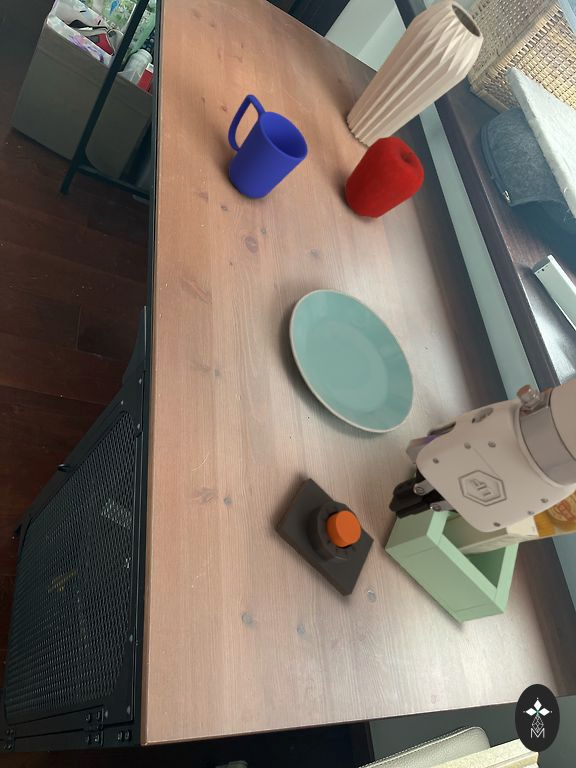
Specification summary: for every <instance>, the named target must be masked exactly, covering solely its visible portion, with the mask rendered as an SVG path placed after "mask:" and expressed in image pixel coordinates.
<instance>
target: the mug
mask: <svg viewBox="0 0 576 768" xmlns="http://www.w3.org/2000/svg"><path fill="white" fill-rule="evenodd" d="M250 105H252V106H253V108H254V109H255V111H256V113H257V120H256V121H255V123H254V125H253V126H252V128H251V129H250V131H249V132H248V133H247V136H246V137H245V138H244V140H243V141H242V142H241V143H242V144H241V145H240V146H239V145H238V142H237V140H236V134H237V129H238V127H239V124H240V122H241V121H242V119H243V117H244V116H245V114H246V112H247V111H248V109H249V107H250ZM227 141H228V144H229V147H230V148H231V149H232V150H233V151H235V152H236V153H235V155H234V156H233V158H232V160H231V161H230V163H229V167H228V175H229V179H230V181H231V183H232V184H233V186H234V187H235V189H237V191H239V192H240V193H241V194H243V195H244V196H246V197H248V198H251V199H261V198H264V197H265V196H267V195H268V194H269V193H270V192H272V191H273V190H274V189H275V188H276V187H277V186H278V185H279V184H280V183H281V182H282V181H283V180H284V179H285V178H286V177H287V176H288V175H289V174H290V173H291V172H292V171H293V170H294V169H296V168H297V167H298V166H299V165H300V164H301V163H302V162H303V161H304V160H305V159H306V158H307V156H308V153H309V150H308V149H309V147H308V144H307V141H306V139H305V137H304V136H303V134H302V132H301V131H300V129H299V128H298V127H297V126H296V125H295V124H294V123H293V122H292V121H291V120H290V119H288V118H287V117H285V116H284V115H282V114H280V113H278V112H275V111H266V110H265V108H264V107H263V104H262V103H261V102H260V101H259V99H258V98H257V96H255V95H254V94H252V93H251V94H247V95H246V96H245V97H244V99H243V101H242V102H241V104H240V106H239V107H238V109H237V111H236V113H235V114H234V116H233V119H232V121H231V122H230V125H229V128H228V131H227Z"/></svg>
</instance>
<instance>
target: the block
mask: <svg viewBox="0 0 576 768" xmlns="http://www.w3.org/2000/svg"><path fill="white" fill-rule="evenodd" d="M341 511H349V512H351V513H352V514H353V515H354V516H355V517H356V518H357V520H358V522H359V524H360V528H361V534H360V537H359V539H358V540H357V541H356V542H355V543H352V544H349V545H347V546H344V547H339V546H336V545H335V544H333V543H332V542H331V540H330V539H329V537H328V534H327V532H326V523H327V520H328V518H329V517H330V516H332V515H334V514H337V513H339V512H341ZM275 532H276V533H277V534H278V535H279V536H280V537H281V538H282V539H283V540H284V541H285V542H287V543H288V544H289V545H290V546H291V547H292V548H293V549H294V550H295V551H296V552H297V553H298V554H299V555H301V557H302V558H303V559H304V560H306V562H308V563H309V564H310V565H311V566H312V567H313V568H314V569H315V570H316V571H317V572H318V573H319V574H320V575H321V576H322V577H323V578H325V579H326V580H327V581H328V583H330V584H331V586H333V587H334V588H335V589H336V590H337V591H338V592H339V593H341V594H342V596H343V597H348V596H350V595H352V593H353V592H354V589H355V587H356V584H357V582H358V579H359V577H360V575H361V572H362V570H363V567H364V565H365V563H366V560H367V558H368V556H369V554H370V551H371V549H372V546H373V544H374V542H375V539H374V538H373V537H372V536H371V535H370V534H369V533H368V532H367V531H366V529H364V528H363V527H362V525H361V523H360V520H359V518H358V517H357V514H356V513H355V512H354V511H353V510H352V509H351V508H350V507H349V506H348V505H347V504H345V503H343V502H341V501H336V500H335V499H333V498H332V497H331V496H330V495H329V494H328V493H327V492H326V491H325V490H324V489H323V488H322V487H321V485H318V484H317V482H316V481H315V480H314V479H313V478H312V477H309V478H306V479H305V480H304V481H303V483H302V484H301V486H300V488H298V491H297V492H296V494H295V496H294V498H293V500H292V502H291V503H290V505H289V506H288V508H287V510H286V511H285V513H284V515H283V517H282V518H281V520H280V522H279V524H278V525H277V527H276V529H275Z"/></svg>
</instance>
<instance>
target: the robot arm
mask: <svg viewBox="0 0 576 768" xmlns="http://www.w3.org/2000/svg"><path fill="white" fill-rule="evenodd" d="M405 453H406V455H407V456H408V458H409V459H410V461H411V462H412V464H413V465H415V467H416V468H415V473H416V477H414V476H413V477H414V478H413V477H412V478H409V479H407V480H405V481H403V482H401V483H399V484H397V485H396V486H395V487H394V489H393V491H392V499H391V501H390V503H389V504H388V509H389V510H390V511H391V512H394V513H395V516H396V518H397V517H398V518H399V519H401V518H404V517H407V516H409V515H412V514H413V515H416V514H419V513H421V512H424V511H427V510H429V509H432V510H433V511H435V512H442V511H451V512H454V513H458V514H460V515H461V516H462V517H463V518H464V519H465V520H466V521H467V522H468V523H469V524H470V525H472V526H473V527H474V528H476V529H478V530H479V531H482V532H491V531H495V530H499V529H502V528H504V527H507V526H510V525H513V524H515V523H518V522H520V521H523V520H525V519H527V518H530V517H532V516H534V515H536V514H538V513H540V512H542V511H544V510H546V509H548V508H550V507H552V506H553V505H555V504H557V503H558V502H560V501H562V500H563V499H565V498H566V497H568V496H569V495H571V494H572V493H574V492H575V490H576V377H574V378H572V379H570V380H568V381H565V382H563V383H561V384H560V385H557V386H554V387H551V386H550V387H548V388H546V389H543V390H542V391H539V390H538V389H535V388H534V387H533V386H532V384H528V383H527V384H526V385H523V386H521V387H520V388H519V389H518V391H517V392H516V398H512V399H507V400H502V401H499V402H494V403H491V404H488V405H484V406H481V407H479V408H478V407H477V408H475V409H472V410H470V411H466V412H465V413H462V414H459V415H457V416H454V417H453V418H450V419H447V420H446V421H443V422H441V423H439V424H437V425H436V426H434V427H432V428H430V430H429V431H428V432H427V434H426V436H423V437H417V438H413V439H410V440H409V442H408V444H407V446H406V448H405Z"/></svg>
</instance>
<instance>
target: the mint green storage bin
mask: <svg viewBox="0 0 576 768" xmlns="http://www.w3.org/2000/svg"><path fill="white" fill-rule="evenodd" d="M414 477H416V472H415V473H414V475H413V477H412V478H414ZM454 514H456V513H454V512H451V511H442V512H435V511H433V510H432V509H429V510H427V511H424V512H421V513H419V514H416V515H413V514H412V515H409V516H407V517H404V518H401V519H399V518H398V517H397V516H396V520H395V522H394V525H393V527H392V530H391V533H390V535H389V537H388V540H387V542H386V545H385V547H384V551H385V552H386V554H388V555H389V556H390V557H391V558H392V559H393V560H394V561H395V562H396V563H397V564H398V565H399V566H400V567H401V568H402V569H403V570H404V571H405V572H407V574H408V575H409V576H411V578H412V579H414V581H416V582H417V583H418V584H419V586H420V587H422V588H423V589H424V590H425V591H426V592H427V593H428V594H429V595H430V596H431V597H432V598H433V599H434V600H435V601H436V602H437V603H438V604H439V606H441V607H442V608H443V609H444V610H445V611H446V612H447V613H448V614H449V615H451V617H453V619H454V620H455V621H456V622H457V623H459V624H461V623H467V622H471V621H474V620H479V619H485V618H488V617H494V616H499V615H503V614H506V609H507V604H508V599H509V594H510V590H511V585H512V580H513V575H514V569H515V564H516V559H517V555H518V551H519V550H518V549H519V544H520V543H516V544H513V545H509V546H506V547H503V548H499V549H495V550H492V551H489V552H485V553H482V554H478V555H475V556H471V557H468V558H466V557H465V556H464V555H463V554H462V553H461V552H460V551H459V550H458V549H457V548H456V547H455V546H454V545H453V544H452V543H451V542H450V541H449V540H448V539H447V538H446V537H445V536H444V535H443V534H442V531H443V528H444V525H445V522H446V519H447V517H448V516H451V515H454Z"/></svg>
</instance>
